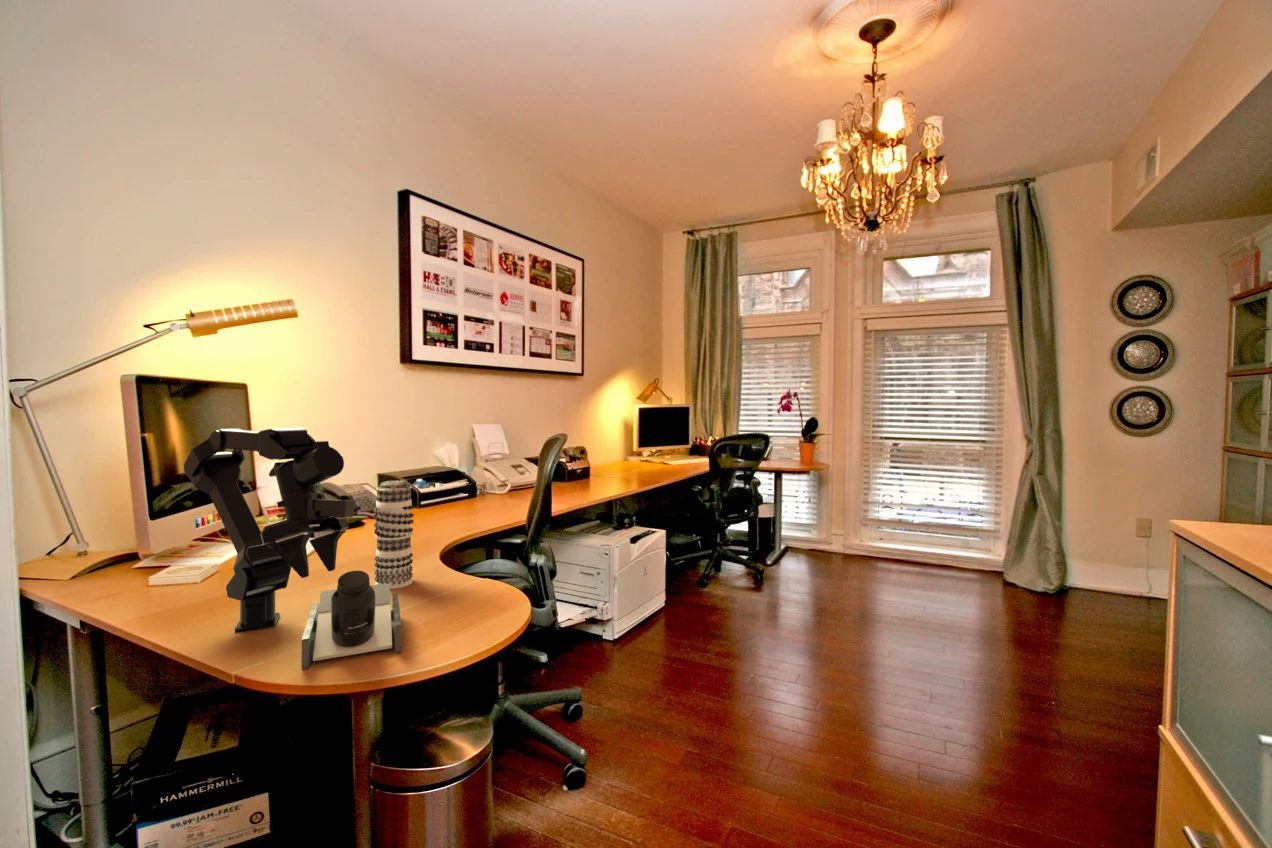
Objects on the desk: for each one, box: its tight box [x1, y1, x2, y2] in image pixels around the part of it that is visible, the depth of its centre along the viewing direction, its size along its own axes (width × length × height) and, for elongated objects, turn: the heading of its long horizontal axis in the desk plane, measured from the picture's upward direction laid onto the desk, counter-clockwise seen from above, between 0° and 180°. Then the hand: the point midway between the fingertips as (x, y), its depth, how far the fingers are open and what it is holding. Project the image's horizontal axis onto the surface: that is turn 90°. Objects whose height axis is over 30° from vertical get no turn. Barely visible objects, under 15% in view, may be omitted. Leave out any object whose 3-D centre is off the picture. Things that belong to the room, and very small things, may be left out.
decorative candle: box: [373, 480, 415, 590], centre depth 131 cm, size 9×9×25 cm
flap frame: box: [301, 592, 402, 670], centre depth 99 cm, size 18×15×5 cm
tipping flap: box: [312, 583, 393, 662], centre depth 99 cm, size 17×12×3 cm
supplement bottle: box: [331, 570, 376, 647], centre depth 93 cm, size 7×7×12 cm
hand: (319, 573), depth 98 cm, fingers open, 9 cm apart
